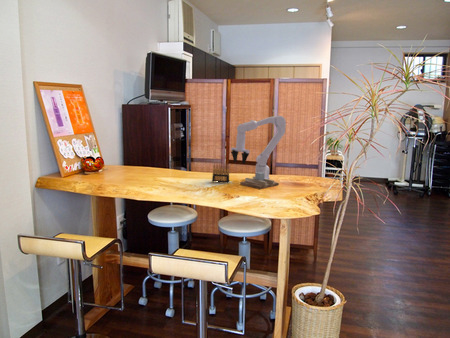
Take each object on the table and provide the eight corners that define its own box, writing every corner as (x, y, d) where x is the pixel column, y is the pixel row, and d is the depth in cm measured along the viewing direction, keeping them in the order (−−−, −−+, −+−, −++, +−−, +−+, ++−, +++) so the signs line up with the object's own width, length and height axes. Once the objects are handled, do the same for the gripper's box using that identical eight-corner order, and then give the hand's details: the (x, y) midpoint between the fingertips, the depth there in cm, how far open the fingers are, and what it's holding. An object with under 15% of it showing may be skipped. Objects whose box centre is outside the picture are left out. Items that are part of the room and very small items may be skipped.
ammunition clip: (212, 181, 235) (212, 163, 233) (212, 181, 237) (213, 162, 235) (228, 183, 233) (229, 164, 231) (229, 182, 235) (230, 163, 233)
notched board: (258, 180, 244) (258, 175, 243) (278, 185, 233) (278, 179, 232) (240, 184, 231) (240, 178, 230) (260, 189, 220) (260, 183, 219)
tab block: (258, 181, 234) (259, 172, 233) (264, 182, 231) (264, 173, 230) (254, 182, 231) (255, 172, 230) (260, 183, 229) (260, 173, 228)
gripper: (228, 141, 249) (227, 161, 251) (245, 143, 239) (243, 164, 241) (235, 141, 254) (234, 160, 256) (252, 143, 244) (250, 163, 246)
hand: (239, 162), depth 249 cm, fingers open, 7 cm apart
